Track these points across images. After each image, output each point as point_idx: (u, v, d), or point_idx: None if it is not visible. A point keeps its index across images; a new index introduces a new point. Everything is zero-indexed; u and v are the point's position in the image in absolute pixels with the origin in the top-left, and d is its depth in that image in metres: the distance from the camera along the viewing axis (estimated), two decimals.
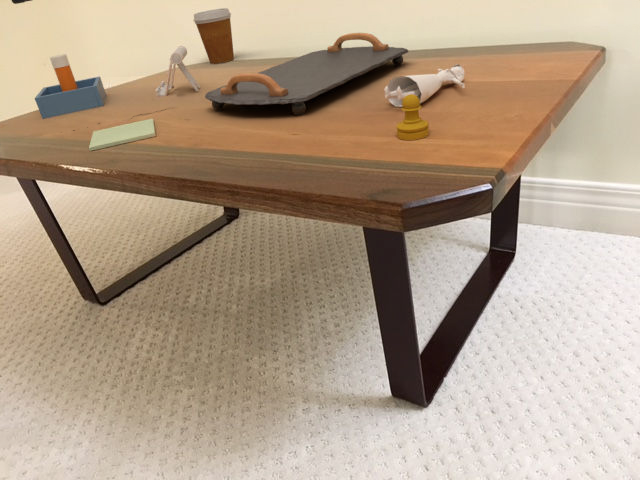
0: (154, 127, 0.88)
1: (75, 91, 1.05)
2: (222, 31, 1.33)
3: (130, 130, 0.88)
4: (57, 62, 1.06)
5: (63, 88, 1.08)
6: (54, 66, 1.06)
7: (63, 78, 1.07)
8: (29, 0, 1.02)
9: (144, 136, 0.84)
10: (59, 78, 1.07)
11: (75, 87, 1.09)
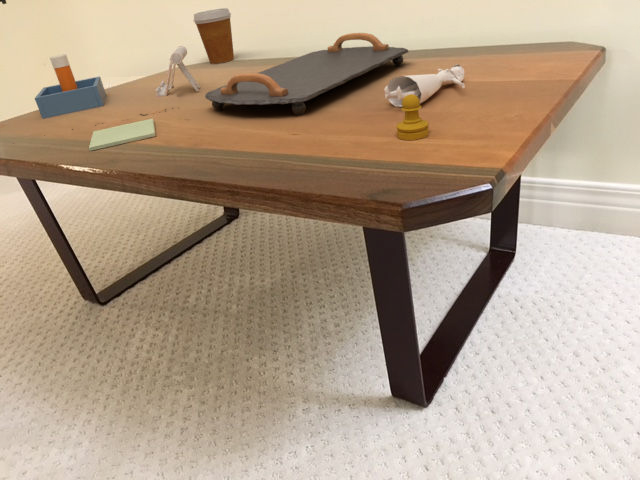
0: (154, 127, 0.88)
1: (75, 91, 1.05)
2: (222, 31, 1.33)
3: (130, 130, 0.88)
4: (57, 62, 1.06)
5: (63, 88, 1.08)
6: (54, 66, 1.06)
7: (63, 78, 1.07)
8: (5, 1, 1.08)
9: (144, 136, 0.84)
10: (59, 78, 1.07)
11: (75, 87, 1.09)
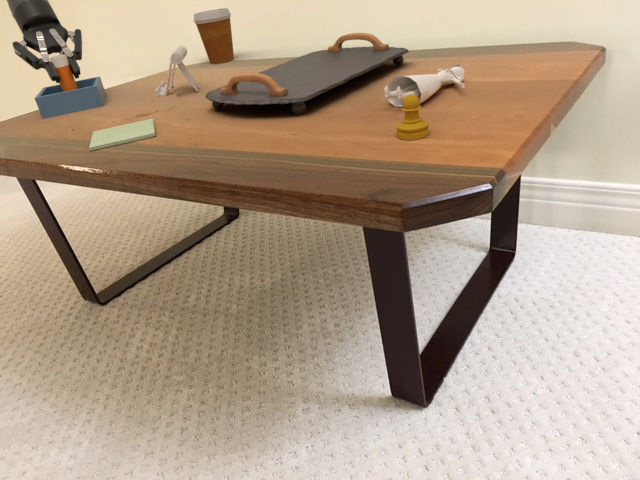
0: (154, 127, 0.88)
1: (75, 91, 1.05)
2: (222, 31, 1.33)
3: (130, 130, 0.88)
4: (57, 62, 1.06)
5: (63, 88, 1.08)
6: (54, 66, 1.06)
7: (63, 78, 1.07)
8: (59, 80, 1.06)
9: (144, 136, 0.84)
10: None
11: (75, 87, 1.09)
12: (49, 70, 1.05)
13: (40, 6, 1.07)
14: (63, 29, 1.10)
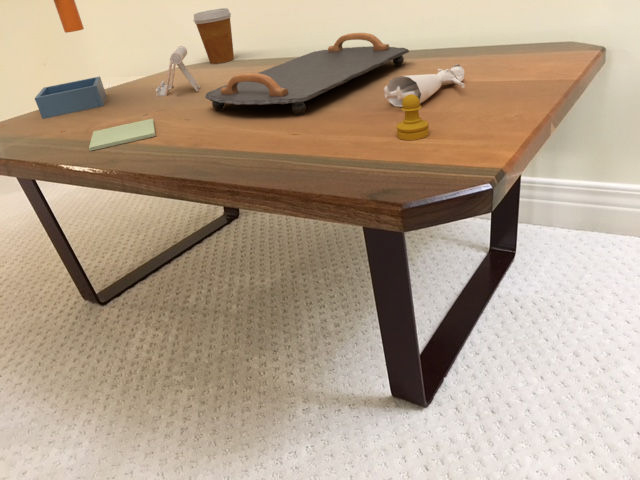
0: (154, 127, 0.88)
1: (75, 91, 1.05)
2: (222, 31, 1.33)
3: (130, 130, 0.88)
4: None
5: (58, 5, 0.85)
6: None
7: None
8: None
9: (144, 136, 0.84)
10: None
11: (73, 5, 0.86)
12: None
13: None
14: None
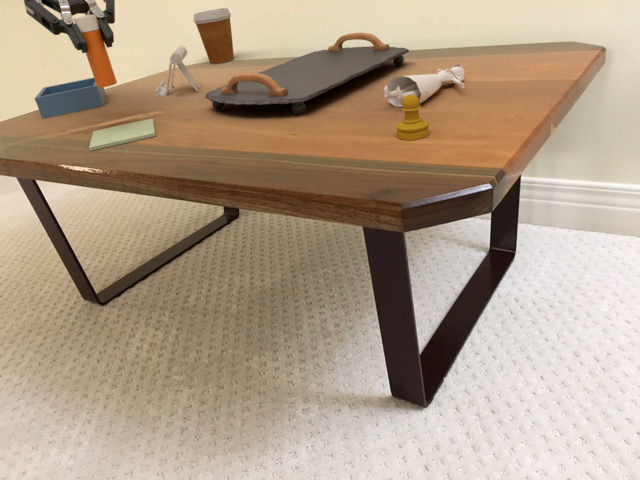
0: (154, 127, 0.88)
1: (75, 91, 1.05)
2: (222, 31, 1.33)
3: (130, 130, 0.88)
4: (84, 25, 0.78)
5: (91, 60, 0.81)
6: None
7: (91, 46, 0.80)
8: (87, 49, 0.79)
9: (144, 136, 0.84)
10: None
11: (107, 59, 0.82)
12: (73, 35, 0.78)
13: None
14: None
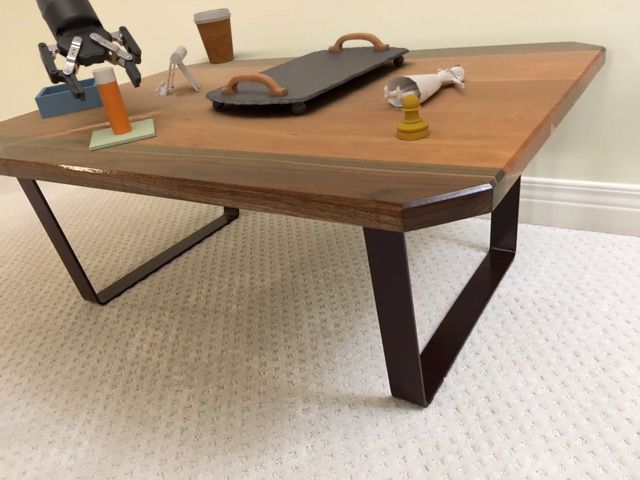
0: (154, 127, 0.88)
1: None
2: (222, 31, 1.33)
3: None
4: (102, 77, 0.82)
5: (108, 110, 0.84)
6: (98, 82, 0.82)
7: (108, 97, 0.83)
8: (85, 98, 0.82)
9: (144, 136, 0.84)
10: (103, 97, 0.83)
11: (123, 108, 0.85)
12: (71, 85, 0.81)
13: (78, 4, 0.83)
14: (107, 33, 0.86)
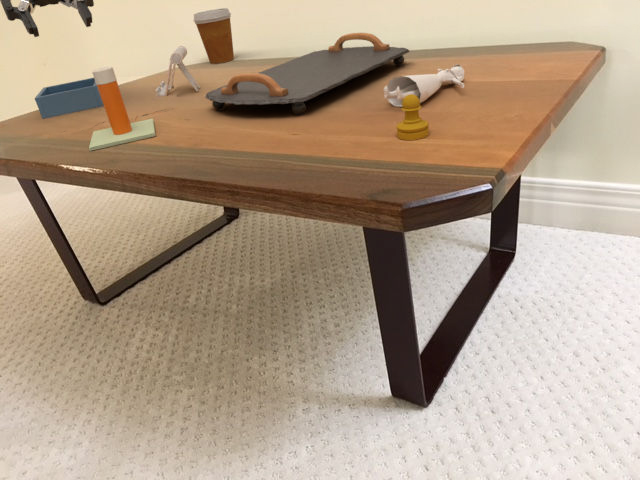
0: (154, 127, 0.88)
1: (75, 91, 1.05)
2: (222, 31, 1.33)
3: None
4: (102, 77, 0.82)
5: (108, 110, 0.84)
6: (98, 82, 0.82)
7: (108, 97, 0.83)
8: (38, 33, 0.89)
9: (144, 136, 0.84)
10: (103, 97, 0.83)
11: (123, 108, 0.85)
12: (25, 21, 0.88)
13: None
14: None
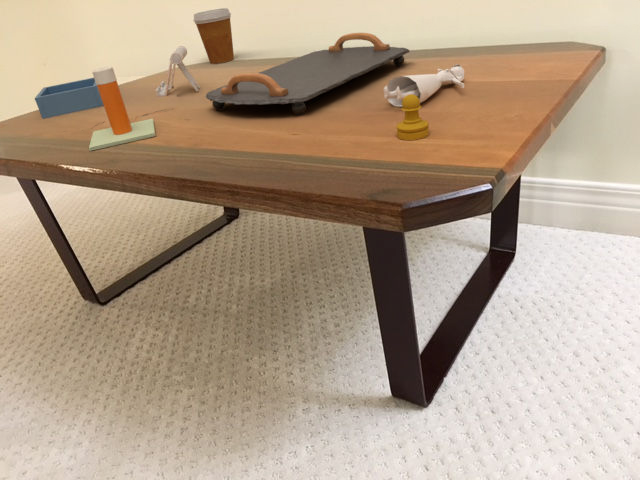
0: (154, 127, 0.88)
1: (75, 91, 1.05)
2: (222, 31, 1.33)
3: None
4: (102, 77, 0.82)
5: (108, 110, 0.84)
6: (98, 82, 0.82)
7: (108, 97, 0.83)
8: None
9: (144, 136, 0.84)
10: (103, 97, 0.83)
11: (123, 108, 0.85)
12: None
13: None
14: None
